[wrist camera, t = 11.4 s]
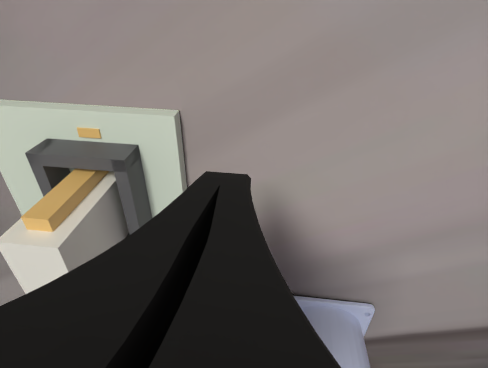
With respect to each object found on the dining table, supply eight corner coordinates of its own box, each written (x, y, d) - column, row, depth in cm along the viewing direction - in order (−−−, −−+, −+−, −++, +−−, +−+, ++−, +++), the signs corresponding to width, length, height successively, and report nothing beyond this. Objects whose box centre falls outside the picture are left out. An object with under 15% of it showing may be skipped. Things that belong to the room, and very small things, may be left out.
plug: (135, 222, 23) (83, 305, 17) (93, 218, 23) (28, 299, 17) (120, 160, 20) (52, 235, 14) (73, 157, 20) (-13, 229, 14)
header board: (196, 283, 27) (186, 317, 24) (59, 268, 28) (34, 300, 25) (179, 110, 18) (160, 133, 16) (-20, 98, 19) (-72, 117, 17)
